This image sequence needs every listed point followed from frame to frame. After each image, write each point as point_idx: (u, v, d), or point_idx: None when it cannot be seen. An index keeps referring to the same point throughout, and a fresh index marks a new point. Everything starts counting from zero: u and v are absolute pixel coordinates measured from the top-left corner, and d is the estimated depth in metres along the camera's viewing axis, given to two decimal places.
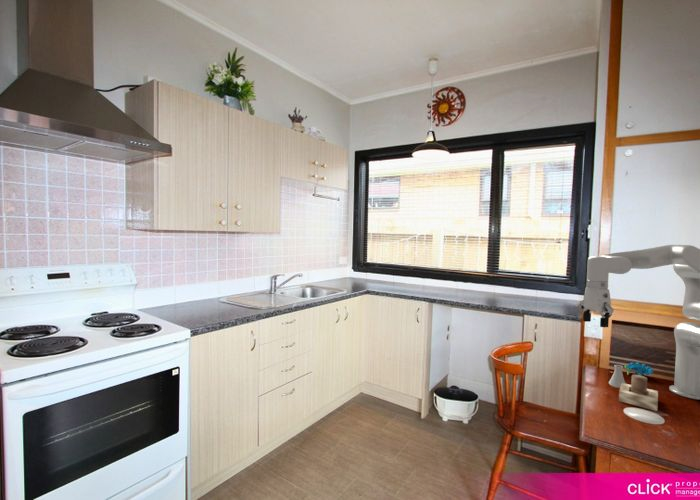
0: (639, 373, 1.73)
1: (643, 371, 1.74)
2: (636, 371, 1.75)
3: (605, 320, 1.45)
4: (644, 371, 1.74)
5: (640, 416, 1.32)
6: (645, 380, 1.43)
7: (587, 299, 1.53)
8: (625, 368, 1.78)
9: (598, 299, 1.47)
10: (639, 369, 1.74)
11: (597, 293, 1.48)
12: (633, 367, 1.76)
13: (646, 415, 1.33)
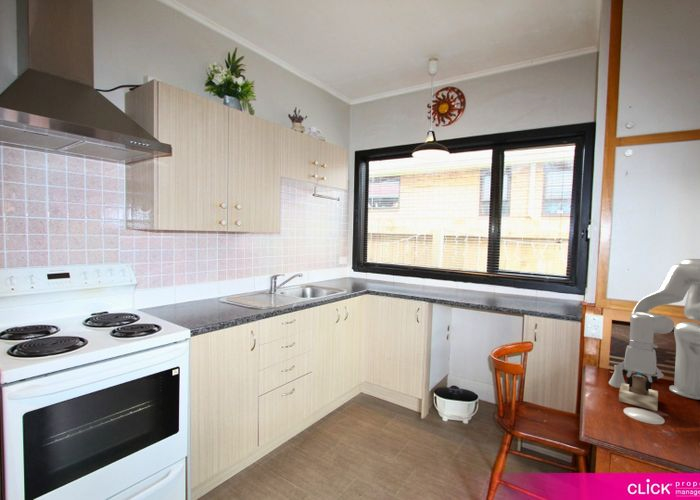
0: (638, 373, 1.73)
1: None
2: None
3: None
4: None
5: (640, 416, 1.32)
6: (645, 380, 1.43)
7: (633, 361, 1.45)
8: None
9: (651, 361, 1.41)
10: None
11: (650, 356, 1.41)
12: None
13: (646, 415, 1.33)
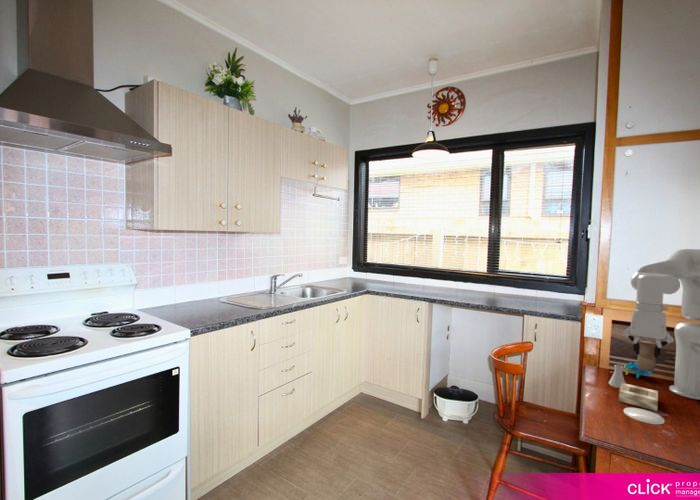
0: (638, 373, 1.73)
1: (642, 371, 1.73)
2: (635, 371, 1.74)
3: None
4: (643, 371, 1.73)
5: (640, 416, 1.32)
6: (654, 346, 1.30)
7: (640, 325, 1.31)
8: None
9: (661, 325, 1.28)
10: (638, 369, 1.73)
11: (659, 319, 1.28)
12: (632, 367, 1.75)
13: (646, 415, 1.33)
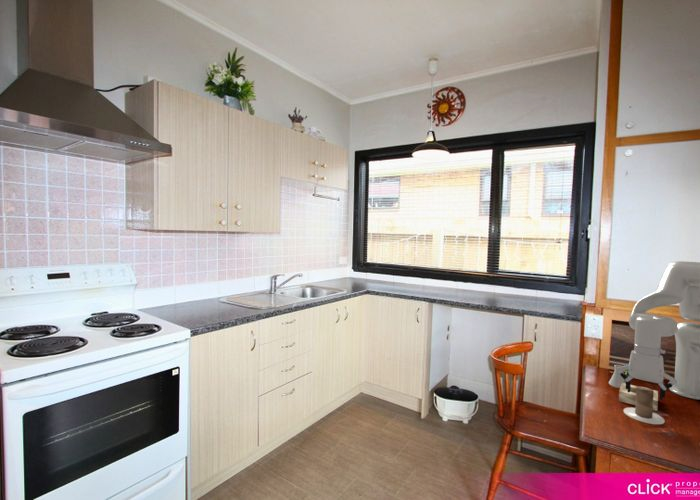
0: None
1: None
2: None
3: None
4: None
5: None
6: (651, 393, 1.30)
7: (638, 368, 1.32)
8: None
9: (658, 369, 1.28)
10: None
11: (657, 362, 1.28)
12: None
13: None
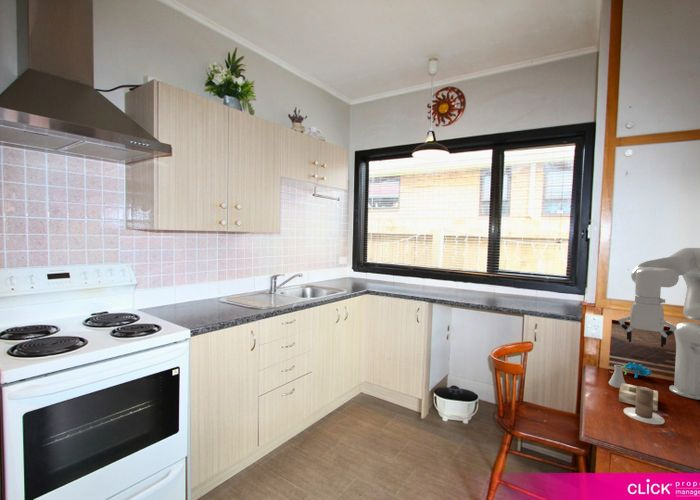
0: (636, 373, 1.72)
1: (642, 372, 1.73)
2: (634, 371, 1.74)
3: None
4: (642, 372, 1.73)
5: None
6: (651, 393, 1.30)
7: (639, 318, 1.36)
8: (624, 368, 1.78)
9: (659, 317, 1.33)
10: (637, 369, 1.73)
11: (657, 311, 1.33)
12: (631, 367, 1.75)
13: None
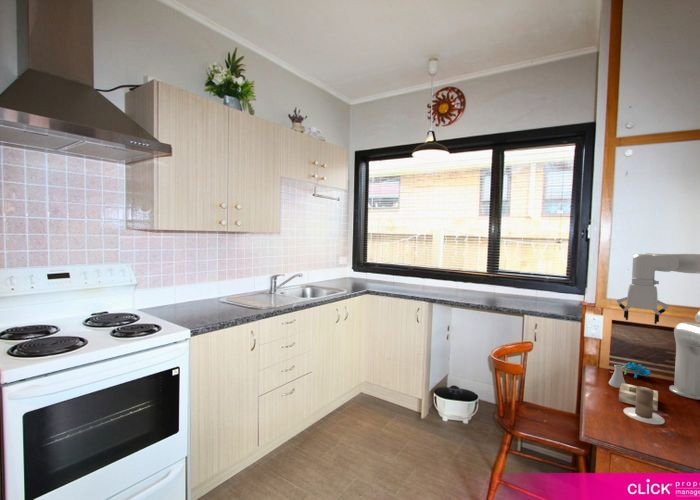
0: (636, 373, 1.72)
1: (641, 372, 1.73)
2: (633, 371, 1.74)
3: None
4: (642, 372, 1.72)
5: None
6: (651, 393, 1.30)
7: (635, 298, 1.52)
8: (624, 368, 1.78)
9: (653, 297, 1.48)
10: (636, 369, 1.73)
11: (651, 291, 1.48)
12: (631, 367, 1.75)
13: None
